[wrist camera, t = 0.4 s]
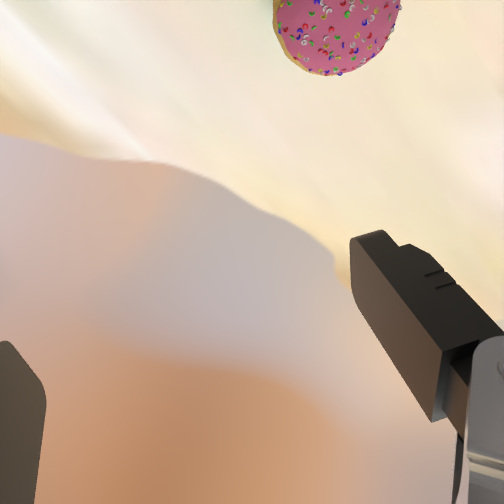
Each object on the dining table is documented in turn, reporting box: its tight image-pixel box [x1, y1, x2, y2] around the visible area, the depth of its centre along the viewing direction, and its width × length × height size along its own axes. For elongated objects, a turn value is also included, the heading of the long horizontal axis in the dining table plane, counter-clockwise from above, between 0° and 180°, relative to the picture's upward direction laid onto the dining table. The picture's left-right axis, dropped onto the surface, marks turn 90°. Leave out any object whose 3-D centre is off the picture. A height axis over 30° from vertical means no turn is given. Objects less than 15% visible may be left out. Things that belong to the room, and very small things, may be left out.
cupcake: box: [273, 0, 402, 76], centre depth 28 cm, size 9×8×12 cm
